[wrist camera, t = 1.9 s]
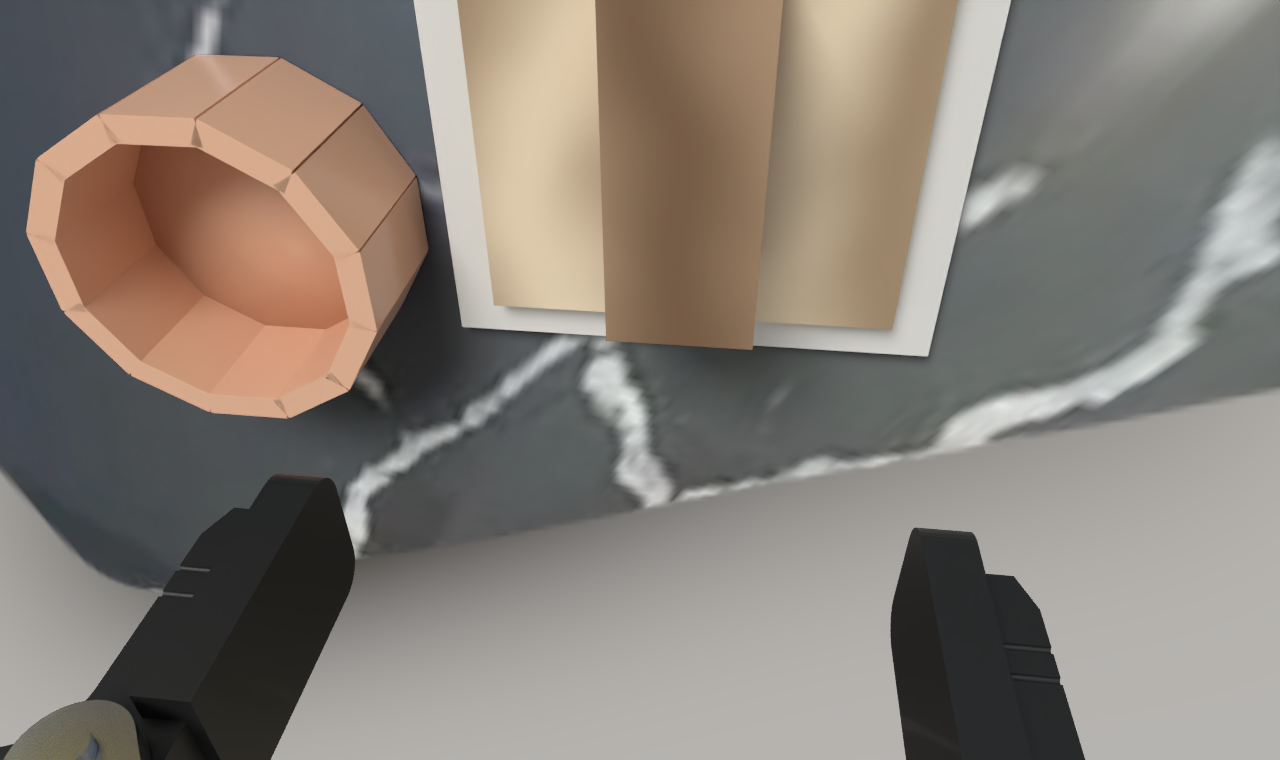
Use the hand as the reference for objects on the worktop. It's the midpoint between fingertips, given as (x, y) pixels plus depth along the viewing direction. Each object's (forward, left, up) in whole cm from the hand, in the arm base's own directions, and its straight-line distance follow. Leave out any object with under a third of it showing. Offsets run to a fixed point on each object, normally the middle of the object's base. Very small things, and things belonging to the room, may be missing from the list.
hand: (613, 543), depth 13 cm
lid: (0, 0, -17) cm, 17 cm away
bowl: (+14, +4, -17) cm, 23 cm away
